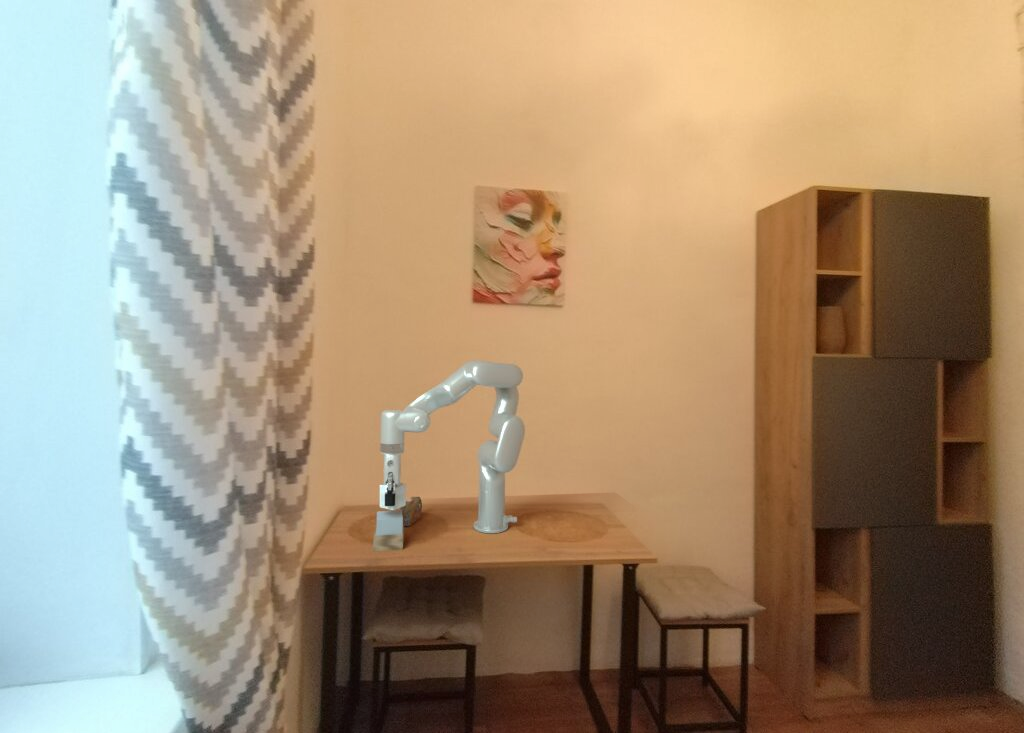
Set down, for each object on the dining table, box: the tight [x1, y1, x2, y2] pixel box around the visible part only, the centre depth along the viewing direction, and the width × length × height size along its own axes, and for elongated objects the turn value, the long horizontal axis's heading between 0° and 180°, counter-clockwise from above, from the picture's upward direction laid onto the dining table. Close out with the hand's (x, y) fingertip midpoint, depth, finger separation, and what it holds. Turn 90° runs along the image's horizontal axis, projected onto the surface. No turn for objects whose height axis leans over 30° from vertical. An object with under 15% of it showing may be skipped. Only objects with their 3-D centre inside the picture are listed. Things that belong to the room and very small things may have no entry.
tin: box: [399, 496, 423, 527], centre depth 166 cm, size 15×3×8 cm, turn 168°
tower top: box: [375, 509, 403, 536], centre depth 145 cm, size 8×8×5 cm
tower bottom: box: [372, 524, 405, 552], centre depth 145 cm, size 9×9×5 cm
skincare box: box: [379, 482, 407, 511], centre depth 145 cm, size 6×6×7 cm
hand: (390, 501), depth 145 cm, fingers closed on skincare box, 8 cm apart
